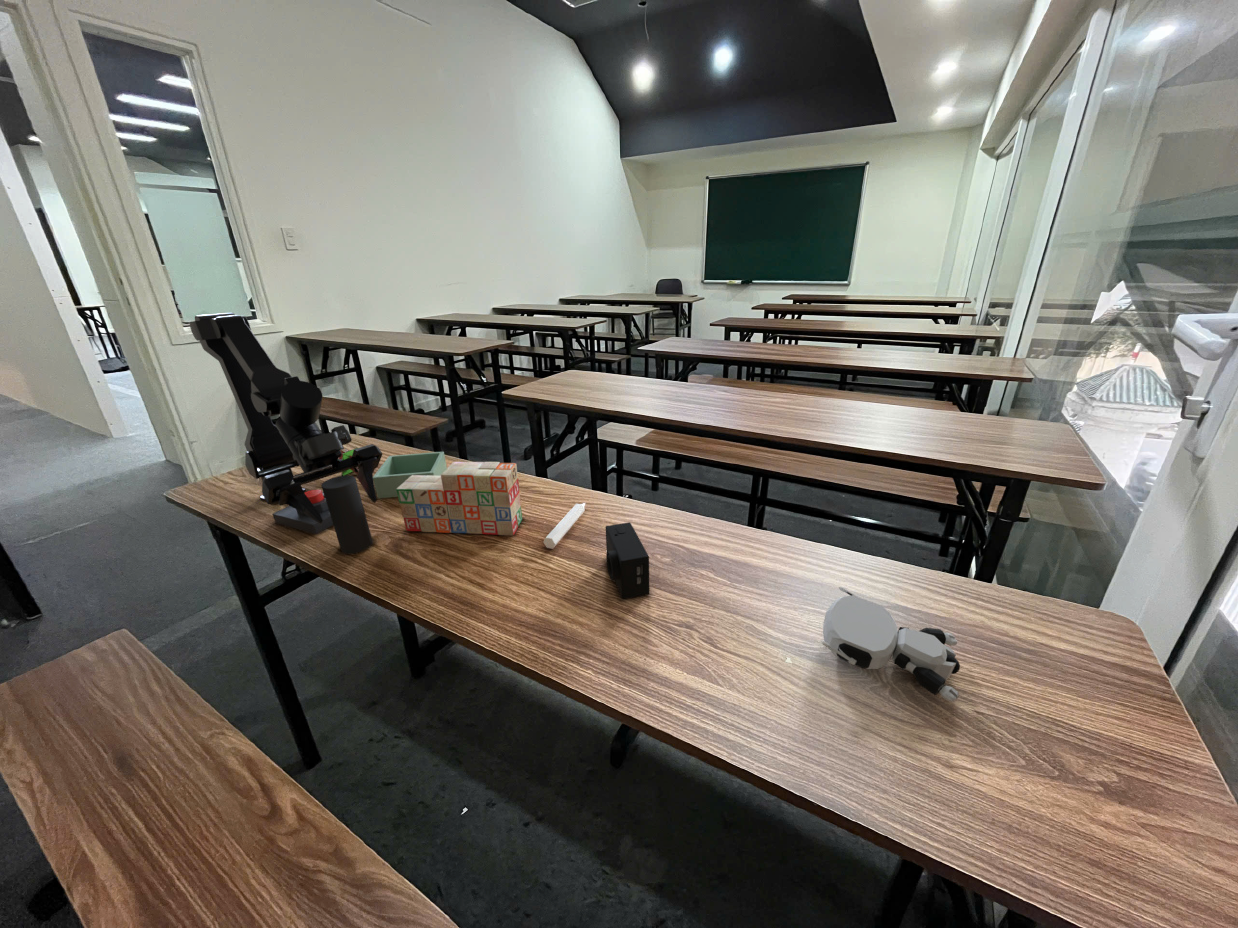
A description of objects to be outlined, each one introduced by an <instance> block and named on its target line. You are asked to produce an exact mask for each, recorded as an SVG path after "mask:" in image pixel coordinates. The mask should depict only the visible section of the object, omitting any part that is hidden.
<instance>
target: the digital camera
mask: <svg viewBox="0 0 1238 928" xmlns="http://www.w3.org/2000/svg"><path fill="white" fill-rule="evenodd" d="M604 529H605V542H606V543H605V547H606V549H605V550H606V553H605V554H606V555H605V557H606V559H605V561H606V567H607V573H608V576H609V578H610V579H609V580H610V581H612V582H615V584H616V587H617V590H618V592H619V594H620V597H621V599H622V600H625V599H630V598H637V597H641V596H646V595H650V556H649V554H648V552H647V550H646V548H645V547H644V545H643V543H642V541H641V539H640V537H639V535H638V533H637V532H636V530H635V528H634V527H633V525H632V522H623V523H617V524H611V525H606V526H605V528H604Z"/></svg>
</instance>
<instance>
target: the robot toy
mask: <svg viewBox="0 0 1238 928" xmlns="http://www.w3.org/2000/svg"><path fill="white" fill-rule="evenodd" d="M838 589H839V590H840V591H841V592H843V593H846V594H847V595H844V596H841V597H837V598H835V600H834V601H833V602H831V604H830V606H829V607H828V609H827V610H826V612H825V615H824V619H823V622H822V623H823V624H822V636H823V640H821V644H822V645H823V646H824V647H825V648H828V650H829V651H831V653H832V654H833V655H834V656H835V657H837V658H839V659H840V660H843V661H844V662H847V663H849V664H851V665H853V666H856V667H859V668H861V669H866V670H879V669H881V668H884V667H885V666H886V665H888V663H890V660H891V659H892V660H893V664H894V665H896V667H899V668H900V669H901V670H906V671H907V672H909V673H910V674H912V675H913V676H914V678H915V679H916V682H917V683H918V685H919V686H921V687H922V688H924V689H925V690H926V691H928V692H929V693H930V694H932V695H933V696H937V695H938V694H940V696H941V697H942V698H943V699H944V700H946V701H947V702H950V703H954V702H956V700H957V699H958V698H959V697H960V693H959V692H958V691H957V690H956V689H955V688H954V687H952V686H950V685H947V684H946V682H947V680H948V679H949V678H950V677H951V675H955V674H957V673H959V671H960V670H961V664H960V661H959V660H958V659H957V658H956V656H957V654H956V652H955V651H954V650H953V648H951V647H952V646H953V647H954V646H956V645H958V640H957V639H956V637H955V635H953V634H952V633H950V632H948V631H947V632H944V631H943V630H942V629H940V628H933V627H924V628H923V629H920V630H916V629H914V628H909V627H904V626H900V627H898V625H897V622H896V620H895V618H894V617H893V615H892V614H891V613H890V612H889V611H888V610H887V609H886V608H885V607H884V606H883V605H881V604H879V603H876V602H873V601H871V600H867V599H864V598H862V597H859V596H857V595H856V594H854V593H852V592H850V591H849V590H847V589H846V588H845V587H843V586H838ZM949 646H950V647H949Z"/></svg>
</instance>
